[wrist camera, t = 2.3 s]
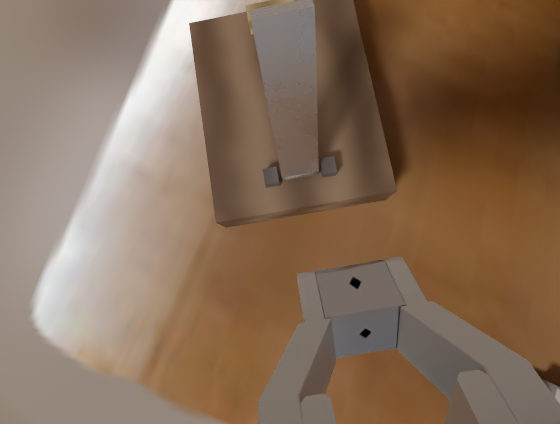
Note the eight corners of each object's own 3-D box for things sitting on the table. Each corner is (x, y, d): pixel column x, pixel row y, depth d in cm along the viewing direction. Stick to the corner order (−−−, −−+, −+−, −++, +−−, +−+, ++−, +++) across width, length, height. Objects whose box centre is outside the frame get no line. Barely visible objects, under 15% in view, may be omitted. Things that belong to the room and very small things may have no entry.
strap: (311, -3, 16) (314, 6, 16) (316, 168, 29) (318, 176, 29) (249, 9, 17) (250, 19, 16) (281, 174, 29) (282, 182, 29)
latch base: (345, 21, 36) (353, -25, 30) (385, 199, 32) (403, 186, 27) (201, 49, 36) (182, 9, 30) (226, 227, 33) (210, 219, 27)
